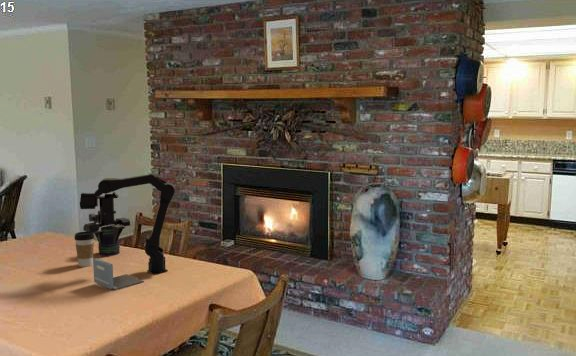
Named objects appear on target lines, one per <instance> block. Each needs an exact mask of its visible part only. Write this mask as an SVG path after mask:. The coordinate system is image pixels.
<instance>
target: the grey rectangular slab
mask: <svg viewBox="0 0 576 356" xmlns="http://www.w3.org/2000/svg"><path fill="white" fill-rule="evenodd" d="M92 265H93V282H94V283H96V284H98V285H100V286H103V287H105V288H107V289H110V290H112V289H111V288H114V286H113V278H114V264H113V263H110V262H107V261H105V260H102V259H100V258H97V257H96V258H93V264H92Z"/></svg>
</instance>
